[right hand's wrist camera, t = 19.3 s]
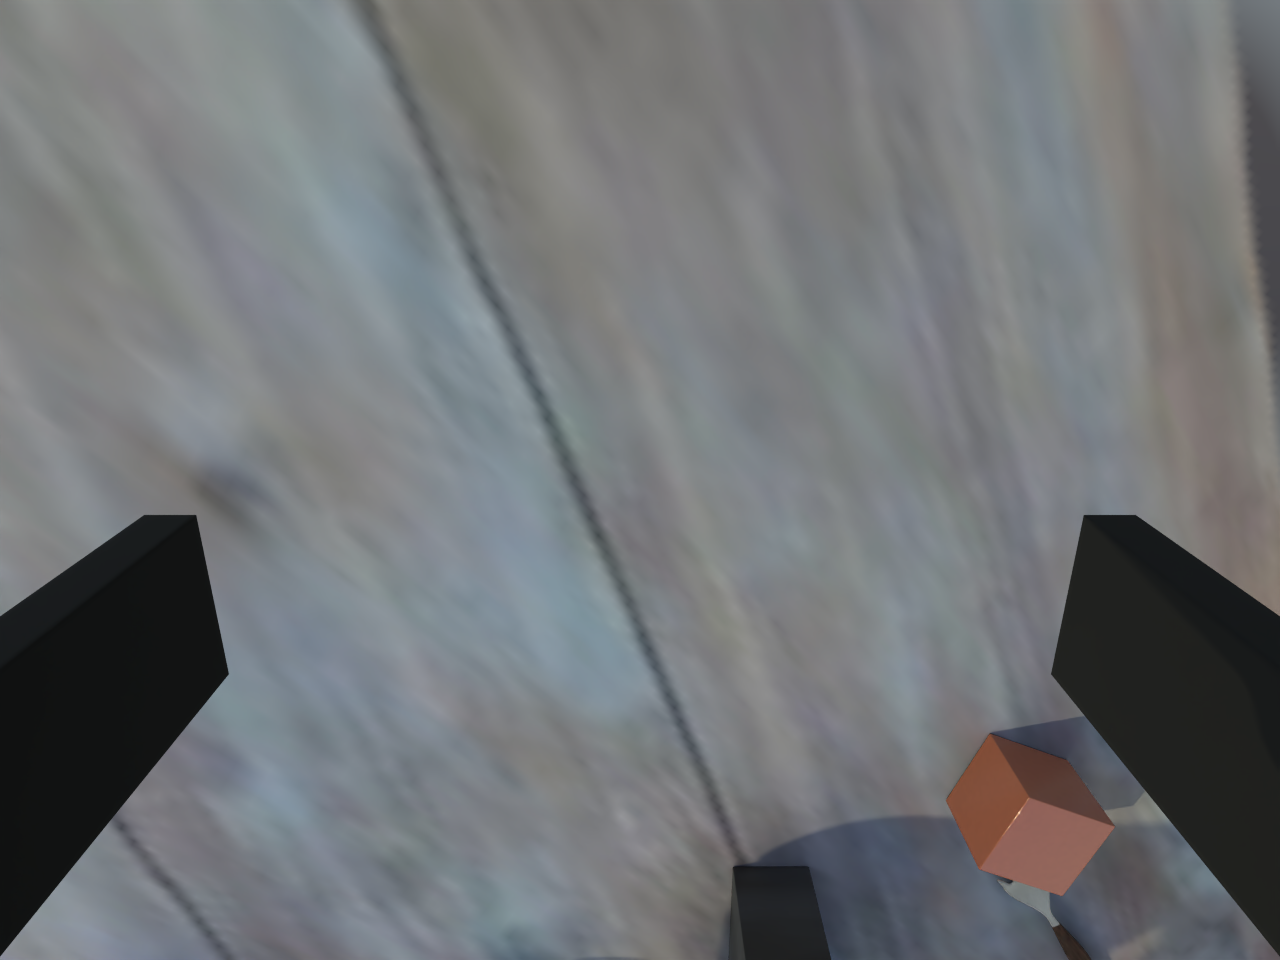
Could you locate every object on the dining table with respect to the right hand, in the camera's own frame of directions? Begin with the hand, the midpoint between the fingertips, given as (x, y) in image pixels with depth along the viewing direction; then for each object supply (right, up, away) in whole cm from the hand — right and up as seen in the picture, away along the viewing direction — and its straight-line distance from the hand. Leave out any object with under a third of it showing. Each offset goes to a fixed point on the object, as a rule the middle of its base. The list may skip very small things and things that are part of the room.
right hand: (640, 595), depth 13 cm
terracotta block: (+21, -15, +34) cm, 43 cm away
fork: (+26, -26, +38) cm, 53 cm away
